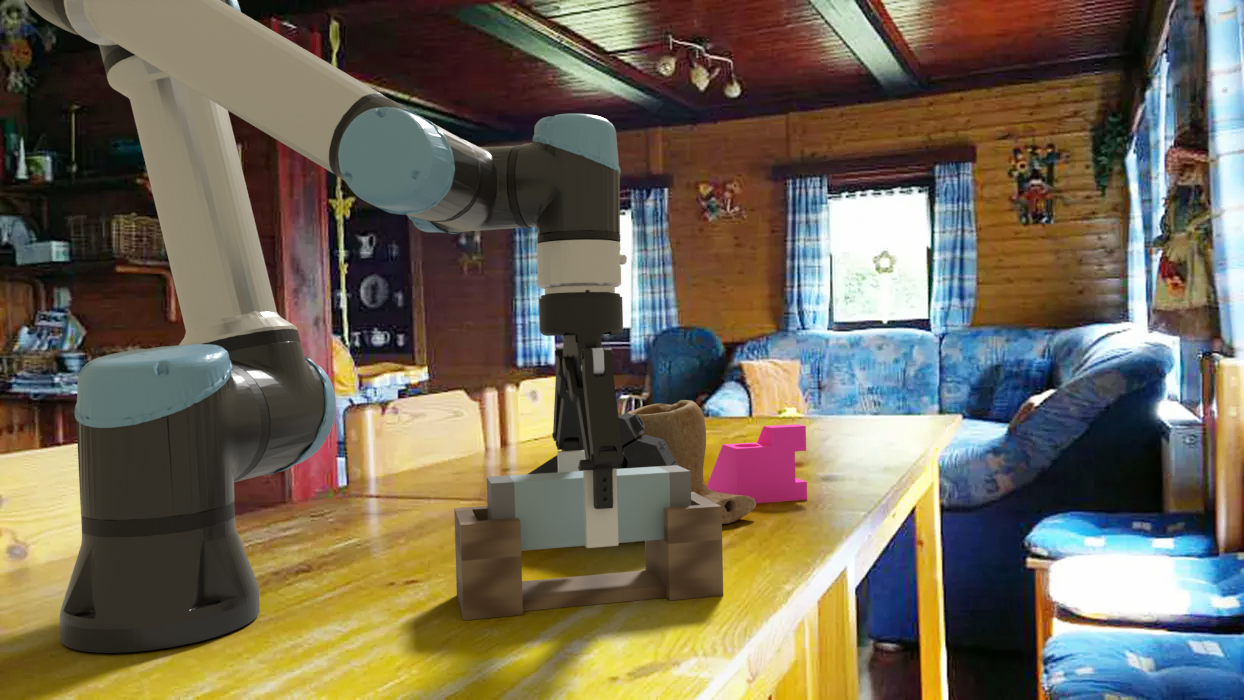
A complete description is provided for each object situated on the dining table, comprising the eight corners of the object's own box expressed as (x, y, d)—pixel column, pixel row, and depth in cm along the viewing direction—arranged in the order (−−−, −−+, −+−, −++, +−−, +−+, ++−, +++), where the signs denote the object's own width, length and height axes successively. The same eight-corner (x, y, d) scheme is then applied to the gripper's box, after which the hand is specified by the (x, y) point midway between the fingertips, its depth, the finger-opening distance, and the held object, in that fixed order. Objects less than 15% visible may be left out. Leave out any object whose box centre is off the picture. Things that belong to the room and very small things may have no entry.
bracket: (807, 500, 130) (805, 426, 130) (737, 505, 128) (735, 429, 127) (771, 486, 142) (770, 418, 142) (707, 491, 139) (705, 421, 139)
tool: (702, 523, 102) (631, 403, 103) (555, 606, 105) (488, 489, 107) (708, 512, 108) (641, 399, 109) (569, 591, 111) (506, 480, 113)
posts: (463, 620, 79) (460, 525, 79) (456, 594, 87) (454, 508, 86) (723, 595, 84) (721, 506, 84) (695, 573, 92) (693, 491, 92)
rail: (493, 552, 81) (491, 483, 81) (488, 543, 85) (486, 476, 85) (692, 537, 86) (690, 471, 86) (679, 528, 90) (677, 465, 89)
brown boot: (604, 522, 118) (601, 402, 118) (660, 507, 127) (657, 396, 127) (706, 536, 109) (703, 406, 108) (758, 518, 118) (756, 399, 118)
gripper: (657, 283, 74) (664, 557, 75) (593, 296, 98) (598, 504, 98) (563, 285, 72) (570, 565, 73) (520, 297, 96) (526, 509, 96)
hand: (586, 531), depth 85 cm, fingers open, 12 cm apart
